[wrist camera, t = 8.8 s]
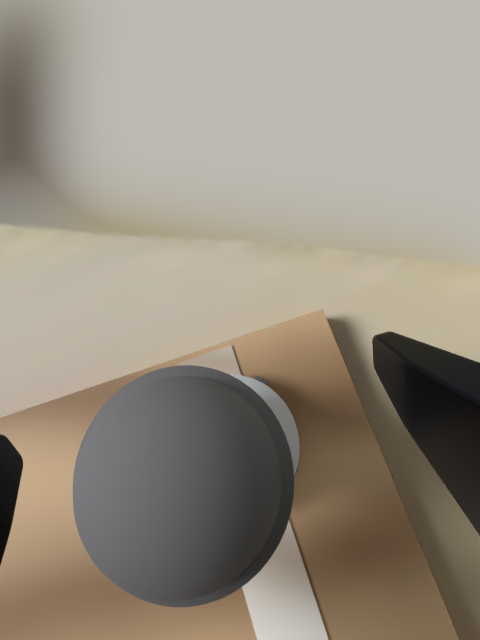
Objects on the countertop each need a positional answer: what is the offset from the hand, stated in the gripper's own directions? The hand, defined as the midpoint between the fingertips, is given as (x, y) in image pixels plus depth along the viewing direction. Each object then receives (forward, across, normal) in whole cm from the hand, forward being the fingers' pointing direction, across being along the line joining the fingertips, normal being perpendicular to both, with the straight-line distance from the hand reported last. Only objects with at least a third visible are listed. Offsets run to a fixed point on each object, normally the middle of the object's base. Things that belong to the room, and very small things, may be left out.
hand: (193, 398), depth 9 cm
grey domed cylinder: (+4, 0, +6) cm, 7 cm away
